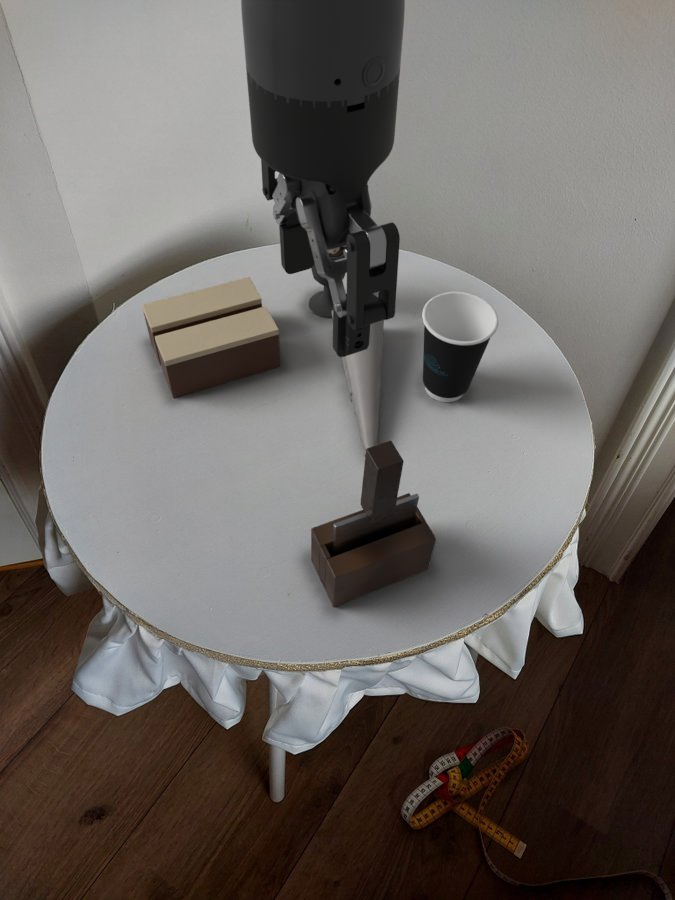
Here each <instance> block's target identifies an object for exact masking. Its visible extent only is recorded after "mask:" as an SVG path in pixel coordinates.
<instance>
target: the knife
mask: <svg viewBox="0 0 675 900" xmlns="http://www.w3.org/2000/svg"><path fill="white" fill-rule="evenodd" d="M404 461H405V460H404V459H403V457H402V455H401V454H400V452H399V451H398V449H397V447H396V445H395V444H394V442H393V441H392V440H387V441H385V442H382V443H380V444H377V445H376V446H373V447H370V448H367V449H366V452H365V457H364V466H363V475H362V484H361V494H360V495H361V496H360V507H361V508H362V510H364V512H365V513H362V514H359V515H357V516H354V517H351V518H348V519H346V520H343V521H340V522H337V523H335V524H334V527H333V547H332V557H334V556H337V555H339V554H342V553H345V552H347V551H350V550H353V549H355V548H358V547H361V546H363V545H366V544H369V543H371V542H374V541H377V540H379V539H382V538H385V537H387V536H390V535H393V534H395V533H398V532H400V531H403V530H406V529H408V528H411V527H413V523H414V518H415V514H416V509H417V507H418V505H419V499H420V496H419V494H418V493H414V494H412V495H411V496H409V497H406V498H403V499H401V500H398V501H397V497H399V491H400V490H399V489H400V484H401V478H402V473H403V468H404Z"/></svg>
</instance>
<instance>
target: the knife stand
mask: <svg viewBox="0 0 675 900" xmlns="http://www.w3.org/2000/svg"><path fill="white" fill-rule="evenodd" d="M409 496H412V495H411V493H410V492H408V493H405V494H402V495H400V496H399V495H398V496H397V501H398V500H401V499H403V498H406V497H409ZM362 513H365V512H364V510H363V509H360V510H358V511H356V512H352V513H350V514H347V515H345V516H342V517H339V518H336V519H333V520H331V521H327V522H325V523H322V524H320V525H317V526H315V527H311V529H310V534H311V535H310V536H311V537H310V541H311V542H310V544H311V545H310V546H311V547H310V560H311V563H312V565H313V567H314V569H315V572H316V573H317V577H318V578H319V580H320V582H321V584H322V587H323V589H324V591H325V593H326V595H327V598H328V599H329V602H330V604H331V606H332V607H333V608H335V607H338V606H340V605H342V604H345V603H347V602H350V601H353V600H355V599H357V598H360V597H363V596H365V595H368V594H370V593H373V592H375V591H378V590H380V589H383V588H385V587H388V586H390V585H393V584H396V583H398V582H400V581H403V580H405V579H408V578H411V577H413V576H416V575H418V574H420V573H423V572H426V571H428V570H429V567H430V563H431V560H432V556H433V552H434V548H435V545H436V543H437V542H436V541H437V538H436V536H435V534H434V532H433V531H432V529H431V527H430V526H429V524H428V522H427V520H426V519H425V517H424V515H423V514H422V512H421V510H420V508H419V506H417V509H416V514H415V518H414V523H413V527H411V528H408V529H406V530H403V531H400V532H398V533H395V534H393V535H390V536H387V537H385V538H382V539H379V540H377V541H374V542H371V543H369V544H366V545H363V546H361V547H358V548H355V549H353V550H350V551H347V552H345V553H342V554H339V555H337V556H334V557H332V547H333V527H334V524H335V523H337V522H340V521H343V520H346V519H348V518H351V517H354V516H357V515H359V514H362Z"/></svg>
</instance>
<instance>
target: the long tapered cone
mask: <svg viewBox="0 0 675 900" xmlns="http://www.w3.org/2000/svg"><path fill="white" fill-rule="evenodd" d="M331 318H332V321H333V310H332V317H331ZM384 328H385V320H382V321H379V322H376V323H373V324H370V338H369V346H368V348H367V349H366V350H363V351H360V352H357V353H354V354H351V355H348V356H345V357H340V360H341V361H340V362H341V364H342V365H341V366H342V369H343V373H344V377H345V381H346V386H347V390H348V394H349V398H350V401H351V402H352V406H353V412H354V415H355V419H356V423H357V427H358V431H359V437H360V442H361V444H362V445H361V446H362V448H363V450H364V452H365V453H366V449H367V448H370V447H373V446H376V445H378V433H379V419H380V401H381V384H382V383H381V382H382V381H381V380H382V364H383V363H382V361H383V346H384V345H383V343H384Z"/></svg>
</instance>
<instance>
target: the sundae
mask: <svg viewBox="0 0 675 900" xmlns="http://www.w3.org/2000/svg"><path fill="white" fill-rule="evenodd" d="M346 248H347V245H345V246H342V247H338V248H335V249H331V250H327V251H328V255H329V257H330V259H331V260H333V261H335V260H339V259H342V258H346V257H345V256H344V249H346ZM310 270H311V273H312V277H313V279H314V280H315V281H316V282H317V283H319V284H320V285H321V286H323V290H321V291H319V292H316V293H314V294H313V295H312V296H311V297H310V298H309V300H308V308H309V310H310V311H311V312H312V313H313V314H315V315H316V316H319V317H322V318H326V319H327V318H332V310H333V308H334V304H333V300H332V296H331V292H330V288H329V284H328V280H327V279H326V278H323V277H321V276H319V274H318V273H317V270H316V266H315V264H314V266H313V267H312V268H310ZM345 277H346V273H345V274H344V275H343V277H342V281H343V280H344V279H345Z"/></svg>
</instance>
